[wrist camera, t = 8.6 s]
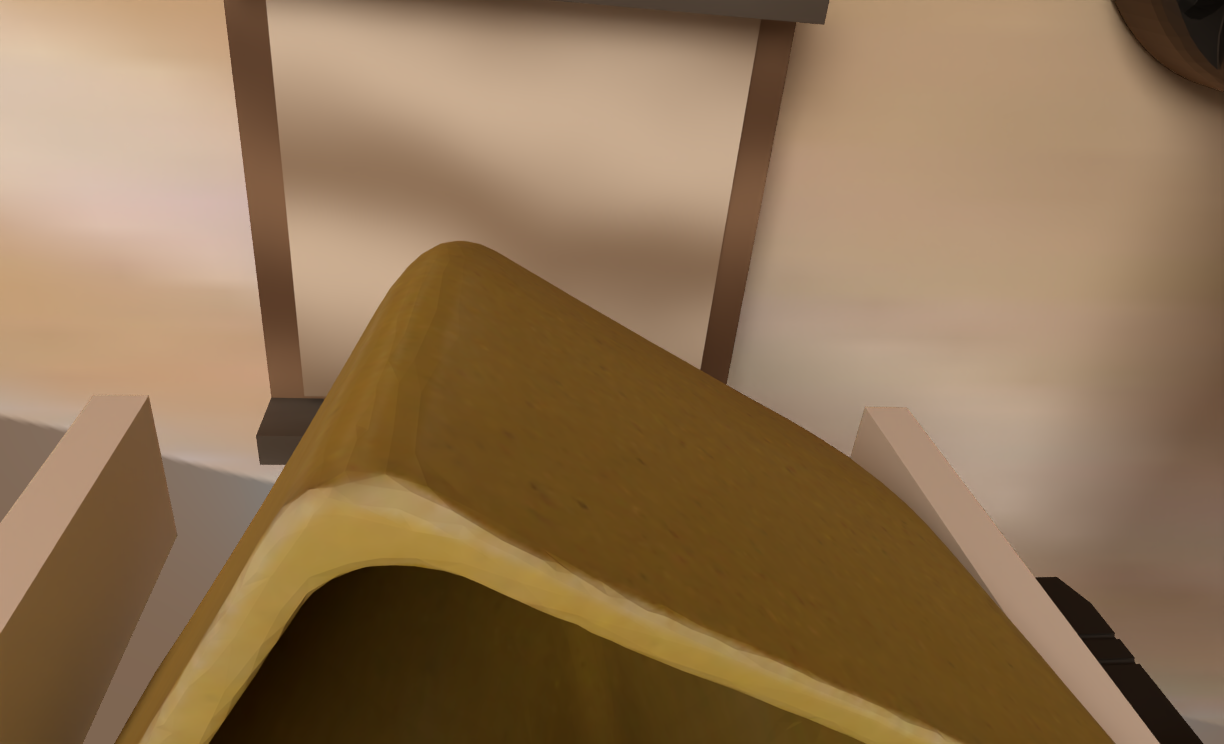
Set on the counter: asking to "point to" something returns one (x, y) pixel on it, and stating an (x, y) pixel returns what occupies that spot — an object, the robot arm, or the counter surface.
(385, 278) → the dock
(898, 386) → the counter surface
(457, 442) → the flower pot
